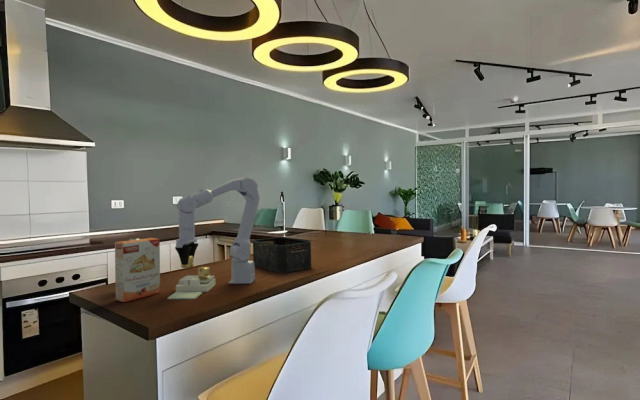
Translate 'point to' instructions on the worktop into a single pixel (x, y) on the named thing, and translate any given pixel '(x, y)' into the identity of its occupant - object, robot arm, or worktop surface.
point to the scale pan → (197, 278)
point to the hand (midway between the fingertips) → (187, 263)
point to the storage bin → (282, 254)
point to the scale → (195, 285)
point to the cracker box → (137, 268)
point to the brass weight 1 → (190, 261)
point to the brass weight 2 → (203, 272)
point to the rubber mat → (185, 295)
